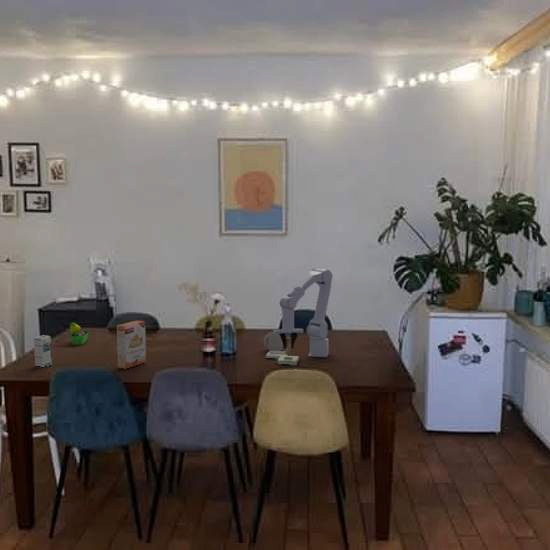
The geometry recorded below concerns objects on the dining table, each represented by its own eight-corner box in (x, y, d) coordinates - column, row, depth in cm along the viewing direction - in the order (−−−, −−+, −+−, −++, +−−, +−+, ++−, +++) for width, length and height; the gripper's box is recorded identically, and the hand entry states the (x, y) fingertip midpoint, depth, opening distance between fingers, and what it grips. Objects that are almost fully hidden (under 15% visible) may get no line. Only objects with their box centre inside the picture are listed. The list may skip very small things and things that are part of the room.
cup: (281, 352, 355) (281, 335, 353) (262, 351, 357) (262, 334, 355) (283, 348, 362) (283, 332, 360) (265, 347, 364) (265, 331, 362)
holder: (298, 360, 339) (298, 356, 339) (295, 365, 330) (295, 361, 330) (280, 359, 341) (280, 355, 340) (277, 364, 332) (277, 360, 332)
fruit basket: (83, 345, 371) (83, 324, 369) (67, 345, 371) (66, 324, 370) (90, 340, 382) (89, 320, 381) (74, 340, 382) (73, 320, 381)
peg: (291, 353, 336) (291, 337, 335) (290, 355, 333) (290, 338, 332) (285, 353, 337) (285, 337, 336) (284, 354, 334) (284, 338, 333)
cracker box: (126, 370, 323) (125, 326, 320) (117, 368, 327) (115, 325, 324) (147, 363, 335) (145, 321, 332) (137, 361, 338) (136, 319, 335)
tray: (289, 355, 349) (289, 351, 349) (285, 359, 340) (285, 356, 340) (269, 354, 351) (269, 350, 351) (266, 358, 342) (266, 355, 342)
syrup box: (43, 368, 327) (42, 338, 325) (34, 366, 330) (33, 337, 328) (52, 365, 332) (51, 335, 330) (44, 363, 335) (42, 334, 333)
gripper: (300, 318, 338) (300, 345, 340) (271, 319, 335) (272, 347, 337) (304, 321, 331) (304, 348, 333) (274, 323, 328) (275, 350, 330)
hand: (288, 348), depth 335 cm, fingers closed on peg, 3 cm apart
